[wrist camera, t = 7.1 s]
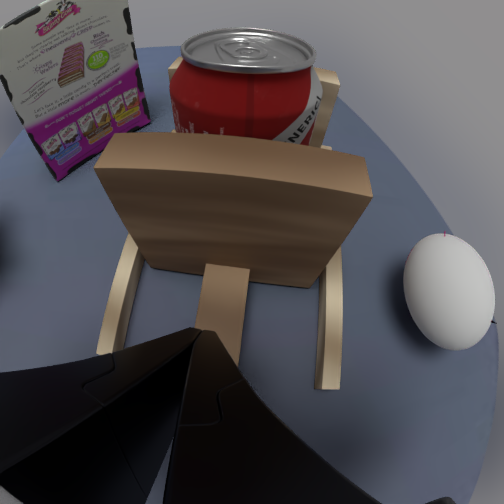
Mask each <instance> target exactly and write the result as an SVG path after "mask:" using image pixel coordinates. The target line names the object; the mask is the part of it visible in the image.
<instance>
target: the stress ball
mask: <svg viewBox="0 0 504 504" xmlns="http://www.w3.org/2000/svg"><path fill="white" fill-rule="evenodd" d="M403 285H404V294H405V299H406V303H407V306H408V309H409V311H410V314H411V316H412V318H413V320H414V322H415V323H416V325H417V326H418V328H419V329H420V331H421V332H422V333H423V334H424V335H425V336H426V337H427V338H428V339H429V340H430V341H431V342H433V343H434V344H436V345H438V346H440V347H442V348H444V349H448V350H463V349H467V348H469V347H471V346H473V345H475V344H476V343H477V342H479V341H480V340H481V338H482V337H483V336H484V335H485V333H486V332H487V330H488V329H489V326H490V324H491V322H492V323H495V322H494V321H492V318H493V314H494V308H495V293H494V287H493V282H492V279H491V275H490V273H489V271H488V268H487V266H486V264H485V263H484V261H483V259H482V258H481V257H480V255H479V254H478V253H477V252H476V250H475V249H474V248H473V247H471V246H470V245H469V244H468V243H466V242H465V241H463V240H462V239H460V238H457V237H456V236H453V235H449V234H445V233H444V234H433V235H429V236H427V237H425V238H423V239H422V240H420V241H419V242H418V243H417V244H416V245H415V246H414V247H413V249H412V250H411V252H410V254H409V255H408V258H407V261H406V264H405V268H404V276H403ZM496 324H497V323H496Z"/></svg>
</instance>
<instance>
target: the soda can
mask: <svg viewBox="0 0 504 504" xmlns="http://www.w3.org/2000/svg"><path fill="white" fill-rule="evenodd" d="M181 56H182V58H183V60H182V62H181V63H180V65H179V66H178V68H177V70H176V71H175V73H174V75H173V76H172V79H171V81H170V96H171V103H172V110H173V116H174V123H175V129H176V133H198V134H215V135H228V136H239V137H249V138H257V139H266V140H273V141H281V142H287V143H294V144H300V145H306V146H309V143H310V139H311V136H312V132H313V129H314V125H315V121H316V118H317V114H318V110H319V107H320V103H321V99H322V94H323V89H322V85H321V82H320V80H319V78H318V76H317V73H316V71H315V69H314V67H313V64H314V62H315V59H316V51H315V49H314V48H313V47H312V46H311V45H310V44H308V43H307V42H305V41H304V40H302V39H300V38H297V37H295V36H292V35H289V34H286V33H282V32H278V31H274V30H268V29H260V28H224V29H217V30H212V31H207V32H204V33H200V34H197V35H195V36H193V37H191V38H189V39H188V40H186V41H185V42H184V43H183V44H182V46H181Z"/></svg>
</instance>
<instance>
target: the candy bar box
mask: <svg viewBox="0 0 504 504" xmlns="http://www.w3.org/2000/svg"><path fill="white" fill-rule="evenodd" d="M0 79H1V82H2V84H3V86H4V89H5V91H6V93H7V95H8V97H9V99H10V102H11V103H12V105H13V107H14V109H15V111H16V114H17V116H18V117H19V119H20V121H21V123H22V125H23V127H24V128H25V130H26V132H27V134H28V136H29V138H30V139H31V141H32V143H33V145H34V146H35V148H36V150H37V151H38V153H39V155H40V156H41V158H42V159H43V161H44V163H45V164H46V166H47V168H48V169H49V171H50V173H51V174H52V176H53V177H54V178H55V180H56V181H59V180H61V179H63V178H64V177H65V176H66V175H68V174H69V173H71V172H72V171H73V170H75V169H76V168H78V167H79V166H80V165H82V164H83V163H85V162H86V161H87V160H89V159H90V158H92V157H93V156H95V155H96V154H98V153H99V152H101V151H102V150H104V149H105V148H106V146H107V144H108V143H109V141H110V140H111V138H112V137H113V135H114V134H115V133H132V132H133V131H135V130H137V129H139V128H141V127H142V126H144V125H146V124H148V123H149V122H151V119H150V115H149V110H148V106H147V101H146V98H145V92H144V88H143V83H142V79H141V74H140V70H139V64H138V59H137V55H136V50H135V45H134V37H133V32H132V26H131V19H130V12H129V7H128V0H46V1H44V2H42V3H40V4H39V5H37V6H35V7H33V8H31V9H29V10H28V11H26V12H24V13H23V14H21V15H19V16H18V17H16V18H15V19H13V20H11V21H10V22H8V23H7V24H5V25H4V26H2V27H1V28H0Z"/></svg>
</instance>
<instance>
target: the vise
mask: <svg viewBox="0 0 504 504" xmlns="http://www.w3.org/2000/svg"><path fill="white" fill-rule="evenodd" d="M182 60H183V58H182V57H178V58H177V59H176V60H175V61H174V63H173V64H172V65H171V66H170V67H169V68H168V73H169V80H170V81H171V79H172V76H173V75H174V73H175V71H176V70H177V68H178V66H179V65H180V63H181V62H182ZM314 69H315V71H316V73H317V76H318V78H319V80H320V82H321V85H322V89H323V94H322V99H321V103H320V107H319V110H318V114H317V118H316V121H315V125H314V129H313V132H312V136H311V139H310V143H309V146H312V147H317V148H323V149H328V150H332V149H331V147H328V146H323V145H322V142H323V139H324V136H325V133H326V130H327V127H328V123H329V120H330V117H331V114H332V111H333V107H334V104H335V101H336V98H337V94H338V91H339V88H340V83H339V80H338V77H337V74H336V72H334V71H329V70H325V69H320V68H315V67H314ZM171 133H176V130H172V132H171ZM144 259H145V258H144V256H143V255H142V253H141V252H140V250H139V248H138V247H137V245H136V244H135V242H134V240H133V239H132V237H131V235H130V234H129V233H128V236H127V239H126V242H125V245H124V248H123V251H122V254H121V257H120V260H119V264H118V267H117V270H116V274H115V277H114V280H113V284H112V288H111V291H110V295H109V299H108V303H107V307H106V311H105V315H104V319H103V323H102V328H101V332H100V337H99V342H98V347H97V352H96V354H99V355H103V354H107V353H112V352H115V351H119V350H122V349H123V348H124V343H125V338H126V333H127V328H128V323H129V319H130V314H131V310H132V305H133V301H134V297H135V293H136V289H137V285H138V281H139V278H140V274H141V270H142V267H143V263H144ZM342 317H343V298H342V259H341V246H340V247H339V249H338V250H337V251H336V253H335V254H334V256H333V257H332V258H331V260H330V261H329V263H328V264H327V265H326V267H325V268H324V269H323V271H322V272H321V274H320V275H319V318H318V341H317V358H316V372H315V385H314V389H340V375H341V356H342Z"/></svg>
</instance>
